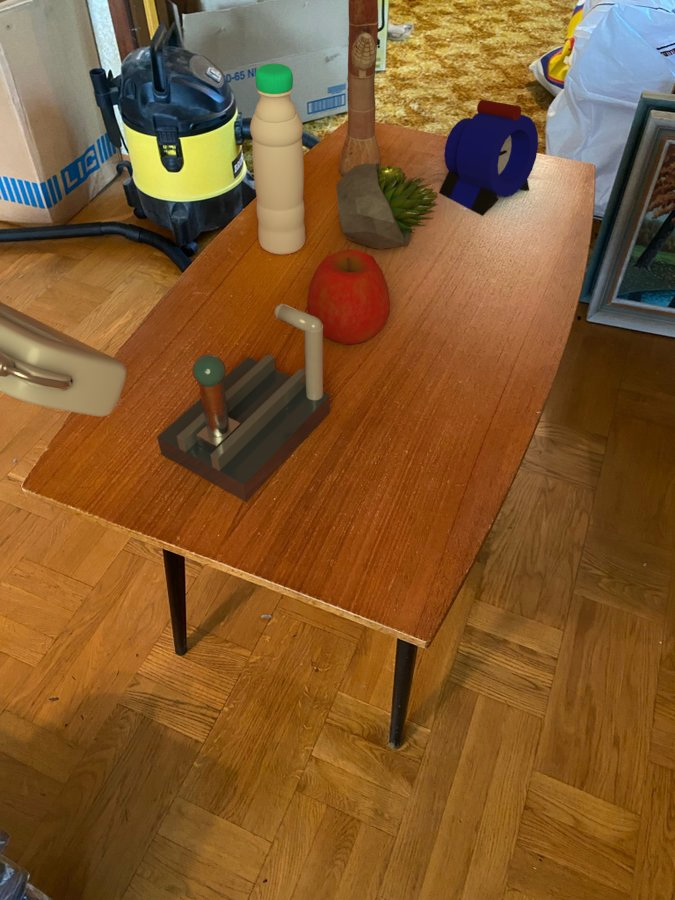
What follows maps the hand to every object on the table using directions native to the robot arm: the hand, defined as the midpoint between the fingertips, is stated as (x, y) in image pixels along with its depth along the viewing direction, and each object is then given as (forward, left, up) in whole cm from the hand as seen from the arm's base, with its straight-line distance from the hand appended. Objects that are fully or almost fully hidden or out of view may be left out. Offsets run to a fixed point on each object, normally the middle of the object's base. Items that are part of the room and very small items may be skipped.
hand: (68, 350), depth 53 cm
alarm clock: (-2, +84, -25) cm, 88 cm away
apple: (-1, +41, -25) cm, 48 cm away
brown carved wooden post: (-22, +77, -25) cm, 84 cm away
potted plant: (-8, +62, -25) cm, 68 cm away
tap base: (0, +18, -25) cm, 31 cm away
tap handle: (0, +14, -22) cm, 26 cm away
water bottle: (-20, +52, -25) cm, 61 cm away
